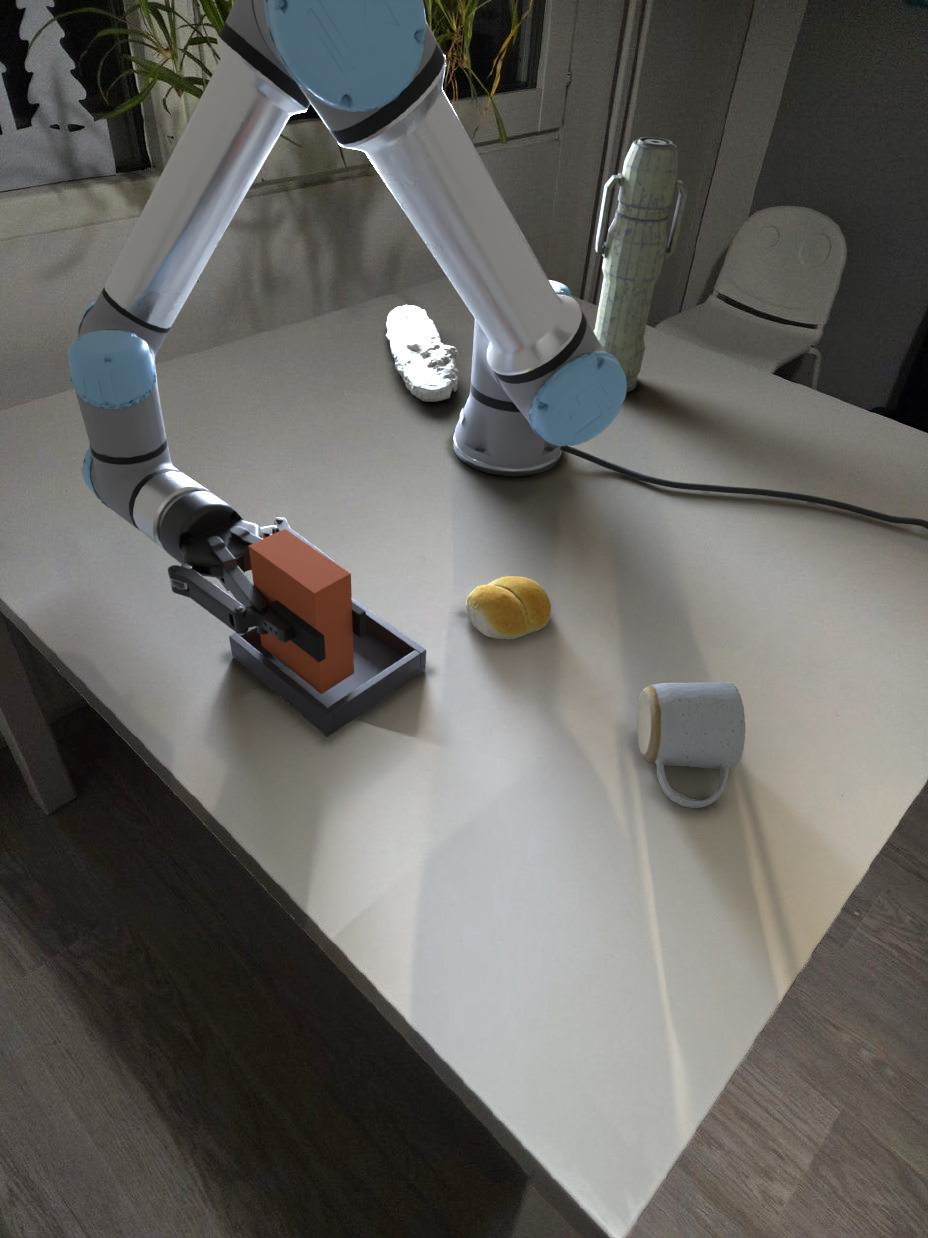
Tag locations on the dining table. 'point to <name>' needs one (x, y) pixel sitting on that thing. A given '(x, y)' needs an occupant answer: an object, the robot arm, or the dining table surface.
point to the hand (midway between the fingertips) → (342, 636)
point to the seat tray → (377, 674)
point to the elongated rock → (421, 354)
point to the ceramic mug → (691, 730)
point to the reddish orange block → (307, 605)
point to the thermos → (636, 247)
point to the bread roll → (508, 607)
